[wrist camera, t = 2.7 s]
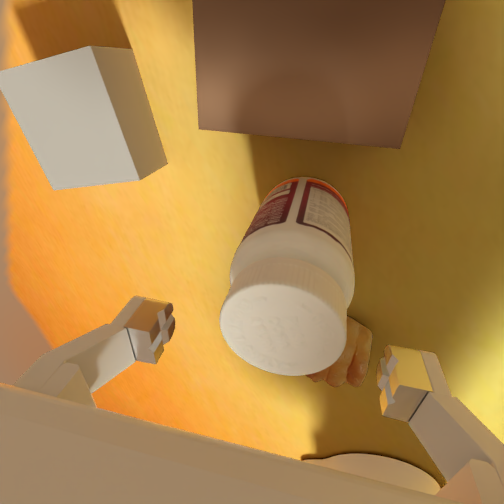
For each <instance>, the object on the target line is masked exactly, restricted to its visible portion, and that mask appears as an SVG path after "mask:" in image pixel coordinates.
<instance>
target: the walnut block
mask: <svg viewBox="0 0 504 504" xmlns="http://www.w3.org/2000/svg"><path fill="white" fill-rule="evenodd" d="M192 1H193V21H194V42H195V62H196V83H197V103H198V124H199V129H202V130H212V131H222V132H232V133H243V134H253V135H263V136H273V137H284V138H294V139H304V140H314V141H324V142H335V143H345V144H355V145H365V146H375V147H386V148H396V149H400V147H401V144H402V140H403V137H404V134H405V131H406V127H407V124H408V121H409V118H410V114H411V111H412V108H413V105H414V101H415V98H416V95H417V92H418V88H419V85H420V82H421V79H422V75H423V72H424V69H425V65H426V62H427V59H428V56H429V52H430V49H431V46H432V43H433V39H434V36H435V33H436V30H437V26H438V23H439V20H440V17H441V13H442V10H443V7H444V4H445V0H192Z"/></svg>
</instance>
